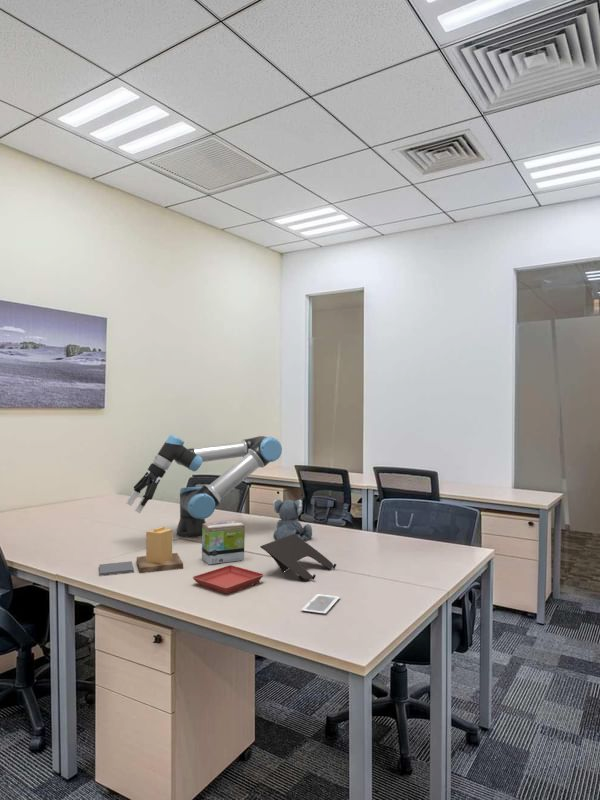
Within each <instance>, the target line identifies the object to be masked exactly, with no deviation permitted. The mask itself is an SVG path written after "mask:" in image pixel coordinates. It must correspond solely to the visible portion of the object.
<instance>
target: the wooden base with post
mask: <svg viewBox="0 0 600 800" xmlns="http://www.w3.org/2000/svg"><path fill="white" fill-rule="evenodd" d="M136 565H137V568H138V571H139V572H138V573H139V574H145V573H146V572H147V573H155V571H156V572H163V571H175V570H182V569H184V562H183V560H182V559H181V557H180V555H179V554H178V553H177V552H174V553H173V552H172V559H170V560H168V561H165V562H163V563H154V562H147V561H146V555H142V556H136ZM147 573H146V574H147Z"/></svg>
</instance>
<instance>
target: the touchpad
mask: <svg viewBox="0 0 600 800" xmlns="http://www.w3.org/2000/svg"><path fill="white" fill-rule="evenodd" d="M340 598H341V596H338V595H327V594H321V593H320V594H319V593H317V594H315V595H314V596H313V597H312V599H311V600H309V602H307V603H306V604H305V605H304V606H303V607H302V608H301V609H300V611H305V612H312V613H318V614H319V613H320V614H327V613H328V612H329V610H330V609H331V608H332V607H333V605H335V603H337V601H338V600H339V599H340Z"/></svg>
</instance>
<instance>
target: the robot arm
mask: <svg viewBox="0 0 600 800" xmlns="http://www.w3.org/2000/svg"><path fill="white" fill-rule="evenodd" d="M184 444H185V441H184V440H183V439H181V438H179V436H176V435H175V434H170V435H169V436H168V438H166V440H165V442H164V443H163V445H162V447H161V448H160V450H159V451H158V453H157V454H156V455H155V456H154V459H153V460H152V463H150V465H149V466H148V468H147V471H148V472H147V471H146V472H145V473H144V475H143V476H142V477H141V478H140V480H139V481H138V482H137V483H135V485H134V486H133V491H132V493H131V495H129V498H128V499H127V501H126V502H125V504H127V505H129V506H130V507H132V506H133V504H134V503H135V502H136V500H137V498H138V496H139V495H140V494H141V492H142V491H143V490H144V488H146V490H145V491H144V495H142V497H141V499H140V500H139V502H138V504H137V506H136V507H135V509H134V511H135V512H137V513H139V514H141V513H142V511H143V510H144V507H146V505H147V503H148V502H149V501H151V500H152V499H153V497H154V495H155V492H156V490H157V488H158V485H159V483H160V481H161V479H162V478H164V475H165V474H166V471H167V470H168V469H169V468H170V466H171V465H172V463H173V461H174V462H175V463H176V464H178V465H179V466H183V467H185V468H187V469H188V470H191V471H192V472H197V471H198V470H199V469H200V467H201V466H202V464H203V463H205V462H207V463H208V462H212V461H220V460H229V459H234V458H235V459H236V458H241V459H240V460H238V461H237V462H235V463H234V464H233V465H232V466H231V467H230V468H228V469H227V470H226V471H224V472H223V473H222V474H221V475H220V476H218V478H216V479H215V480H213V481H212V482H211V483H210V484H203V486H188V487H182V488H180V489H179V490H180V491H179V521H178V524H177V527H176V531H175V533H176V534H175V535H176V536H177V537H179V538H198V537H202V525H203V523H207V521H206V519H207V518H209V517H211V516H212V515H213V514H214V512H215V509H216V508H217V507H218V506H219V505H220V504H221V499H223V498H224V497H226V496H227V495H228V494H229V492H231V491H232V490H233V489H235V488H236V487H238V485H240V484H241V483H242V482H243V481H244V480H246V478H248V477H249V476H250V475H252V474H253V473H254V472H255V471H257V469H259V468H264V467H266V466H267V465H268V464H270V463H273V462H275V461H277V460H279V458H280V457H281V455H282V451H283V448H282V444H281V442H280V441H279V440H278V439H277V438H275V437H272V436H265V435H264V436H263V435H262V436H261V435H259V436H254V437H251V438H246V439H242V440H240V441H238V442H230V443H229V442H228V443H221V444H216V445H215V444H214V445H207V446H200V447H191V448H187V447H185V446H184Z"/></svg>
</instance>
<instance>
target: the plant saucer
mask: <svg viewBox="0 0 600 800" xmlns="http://www.w3.org/2000/svg"><path fill="white" fill-rule="evenodd" d="M263 577H264V573H261V572H258V571H254V570H249V569H247V568H244V567H239V566H236V565H226V566H222V567H218V568H216V569H213V570H210V571H206V572H203V573H200V574H197V575H194V576H192V579H193V581H195V582H196V584H198V585H199V586H202V587H205V588H208V589H211V590H214V591H217V592H219V593H223V594H227V595H228V594H230V593H234V592H235V591H238V590H241V588H242V589H244V588H247V587H250V586H253V585H255V583H256V584H257V583H259V581H260V580H261V579H262V578H263ZM252 584H253V585H252ZM249 585H250V586H249Z"/></svg>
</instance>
